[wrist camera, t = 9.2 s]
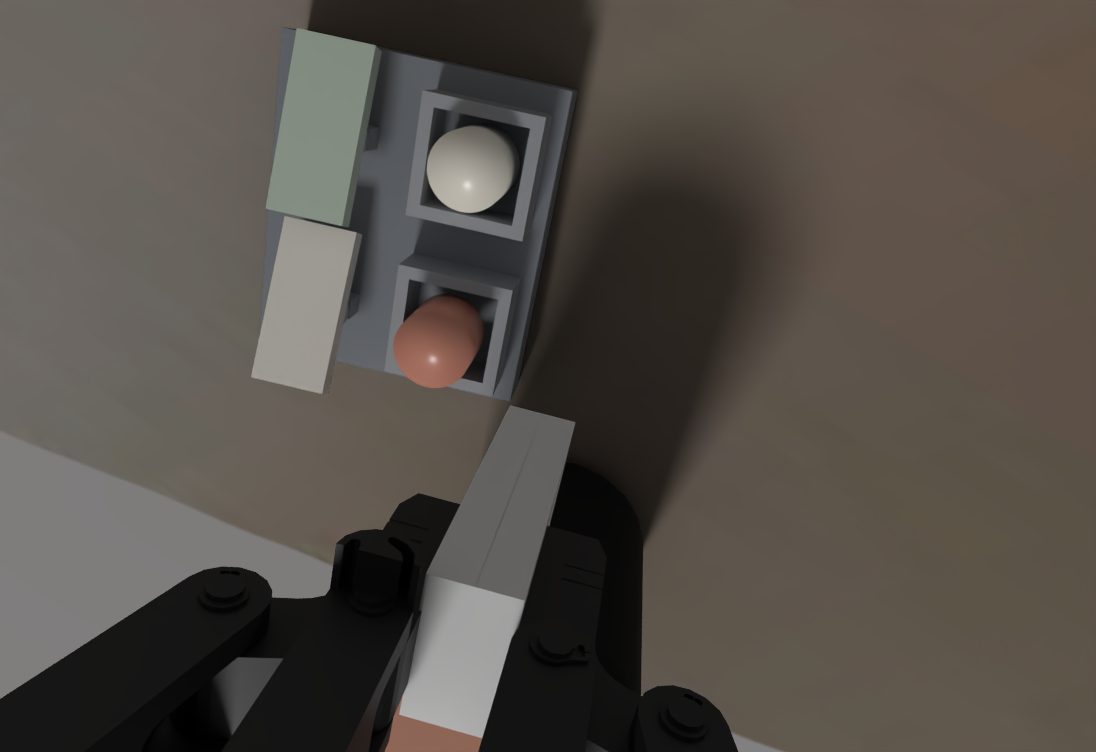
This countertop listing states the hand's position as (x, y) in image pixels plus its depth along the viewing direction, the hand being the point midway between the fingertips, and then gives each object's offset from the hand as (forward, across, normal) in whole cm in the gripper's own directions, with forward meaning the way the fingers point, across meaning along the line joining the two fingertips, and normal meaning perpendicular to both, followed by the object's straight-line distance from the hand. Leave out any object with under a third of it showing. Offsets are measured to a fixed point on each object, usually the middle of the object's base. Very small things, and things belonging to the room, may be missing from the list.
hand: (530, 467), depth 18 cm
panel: (+26, +10, +1) cm, 28 cm away
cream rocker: (+21, +14, +6) cm, 26 cm away
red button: (+21, +7, +5) cm, 23 cm away
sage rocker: (+21, +14, -3) cm, 25 cm away
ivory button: (+23, +7, -3) cm, 24 cm away
